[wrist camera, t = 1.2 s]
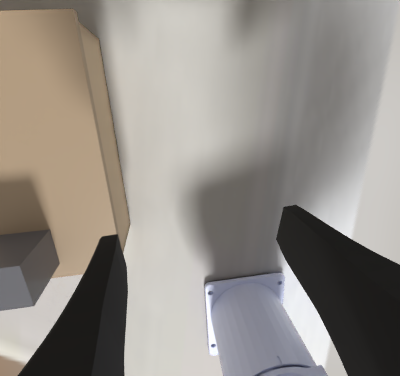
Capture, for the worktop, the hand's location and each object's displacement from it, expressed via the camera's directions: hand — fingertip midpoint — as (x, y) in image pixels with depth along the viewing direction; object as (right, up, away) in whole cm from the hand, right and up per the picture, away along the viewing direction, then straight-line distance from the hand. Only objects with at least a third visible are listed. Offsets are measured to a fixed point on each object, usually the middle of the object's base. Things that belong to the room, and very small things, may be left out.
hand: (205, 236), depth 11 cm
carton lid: (-11, +3, +3) cm, 12 cm away
